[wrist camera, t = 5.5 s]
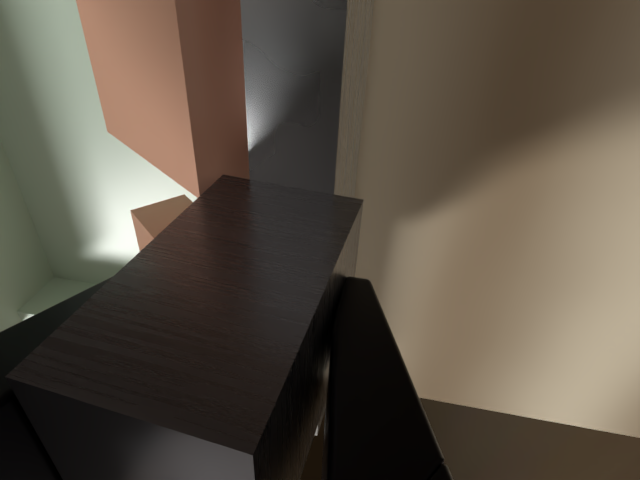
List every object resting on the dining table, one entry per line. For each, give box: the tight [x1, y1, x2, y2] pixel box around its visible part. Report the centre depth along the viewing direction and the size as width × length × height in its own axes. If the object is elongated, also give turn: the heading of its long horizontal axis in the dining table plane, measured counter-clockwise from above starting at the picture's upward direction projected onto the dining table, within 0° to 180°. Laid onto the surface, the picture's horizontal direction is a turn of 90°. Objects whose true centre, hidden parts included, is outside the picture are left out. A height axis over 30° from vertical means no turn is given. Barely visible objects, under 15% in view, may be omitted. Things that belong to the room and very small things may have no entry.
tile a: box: [76, 0, 250, 198], centre depth 8 cm, size 4×4×2 cm
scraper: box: [5, 0, 374, 480], centre depth 7 cm, size 2×11×6 cm, turn 178°
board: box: [355, 0, 640, 438], centre depth 10 cm, size 12×14×3 cm
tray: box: [0, 0, 197, 332], centre depth 12 cm, size 8×13×4 cm, turn 178°
